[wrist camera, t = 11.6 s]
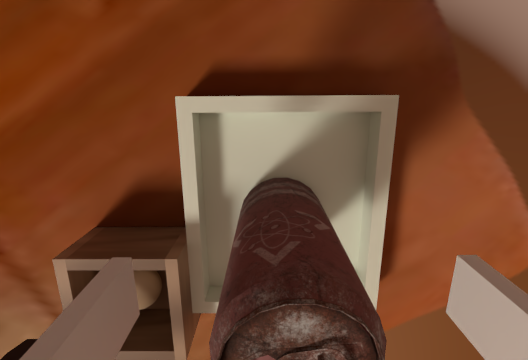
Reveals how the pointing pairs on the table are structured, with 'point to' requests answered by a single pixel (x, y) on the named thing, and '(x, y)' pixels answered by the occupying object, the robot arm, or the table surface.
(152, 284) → the cork ball
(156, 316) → the square wooden box
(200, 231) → the tray
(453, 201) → the table surface
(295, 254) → the can
